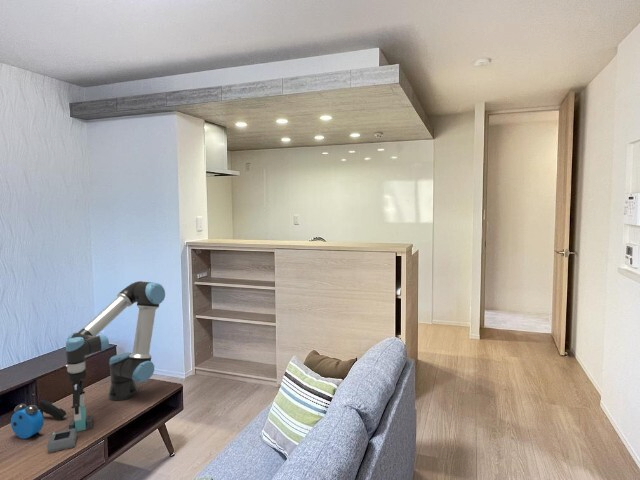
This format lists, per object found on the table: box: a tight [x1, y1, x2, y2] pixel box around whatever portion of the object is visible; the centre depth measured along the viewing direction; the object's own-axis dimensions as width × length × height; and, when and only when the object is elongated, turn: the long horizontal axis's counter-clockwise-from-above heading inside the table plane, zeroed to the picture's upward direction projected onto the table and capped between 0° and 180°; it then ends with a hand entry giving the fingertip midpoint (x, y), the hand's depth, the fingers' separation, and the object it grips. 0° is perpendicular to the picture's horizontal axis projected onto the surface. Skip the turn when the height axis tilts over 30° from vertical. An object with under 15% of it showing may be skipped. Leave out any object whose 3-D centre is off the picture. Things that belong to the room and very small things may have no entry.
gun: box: [38, 399, 68, 421], centre depth 211 cm, size 3×16×10 cm, turn 79°
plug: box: [75, 405, 87, 432], centre depth 200 cm, size 4×4×11 cm
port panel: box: [46, 428, 78, 454], centre depth 187 cm, size 10×10×4 cm
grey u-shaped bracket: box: [67, 415, 94, 431], centre depth 201 cm, size 9×7×4 cm
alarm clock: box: [10, 403, 45, 439], centre depth 195 cm, size 13×6×15 cm, turn 75°
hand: (79, 413), depth 200 cm, fingers open, 13 cm apart
